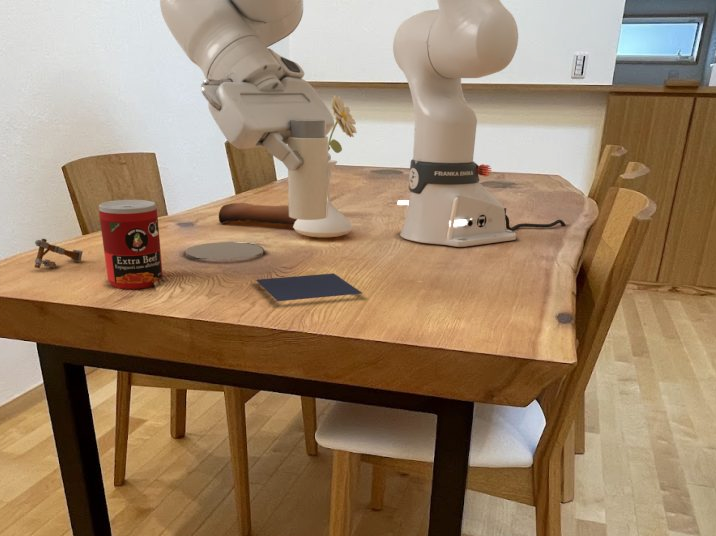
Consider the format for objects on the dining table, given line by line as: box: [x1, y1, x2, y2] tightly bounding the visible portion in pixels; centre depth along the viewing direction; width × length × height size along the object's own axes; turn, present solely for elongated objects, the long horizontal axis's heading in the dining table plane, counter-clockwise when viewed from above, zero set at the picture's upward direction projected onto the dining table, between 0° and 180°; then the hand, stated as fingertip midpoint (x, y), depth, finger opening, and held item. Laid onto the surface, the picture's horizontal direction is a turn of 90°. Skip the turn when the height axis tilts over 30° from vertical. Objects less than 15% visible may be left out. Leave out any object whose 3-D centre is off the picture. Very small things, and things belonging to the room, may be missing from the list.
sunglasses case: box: [218, 202, 297, 226], centre depth 136 cm, size 18×7×7 cm, turn 73°
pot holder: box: [255, 272, 363, 302], centre depth 92 cm, size 12×11×1 cm
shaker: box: [287, 119, 329, 220], centre depth 86 cm, size 5×5×12 cm
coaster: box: [185, 241, 264, 261], centre depth 112 cm, size 13×13×1 cm
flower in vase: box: [292, 94, 357, 239], centre depth 123 cm, size 13×11×25 cm
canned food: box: [98, 199, 164, 290], centre depth 93 cm, size 8×8×11 cm
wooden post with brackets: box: [34, 238, 83, 269], centre depth 102 cm, size 2×8×4 cm, turn 151°
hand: (312, 164), depth 85 cm, fingers closed on shaker, 5 cm apart
